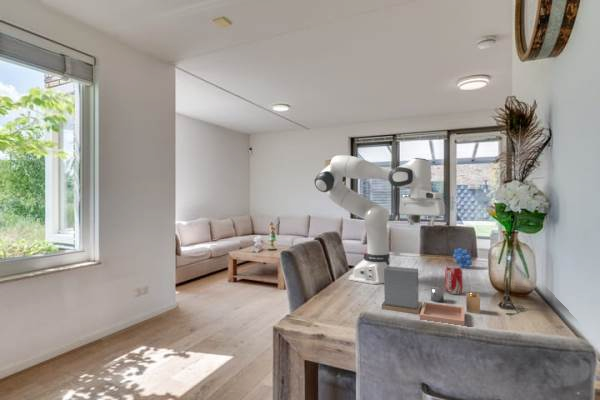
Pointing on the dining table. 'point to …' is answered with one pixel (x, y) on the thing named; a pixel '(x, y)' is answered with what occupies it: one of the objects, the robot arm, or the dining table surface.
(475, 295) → the oak wood brick
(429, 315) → the tray
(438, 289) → the steel cylinder
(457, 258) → the grapes
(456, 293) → the soda can
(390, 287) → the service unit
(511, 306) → the eiffel tower figurine
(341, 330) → the dining table surface
